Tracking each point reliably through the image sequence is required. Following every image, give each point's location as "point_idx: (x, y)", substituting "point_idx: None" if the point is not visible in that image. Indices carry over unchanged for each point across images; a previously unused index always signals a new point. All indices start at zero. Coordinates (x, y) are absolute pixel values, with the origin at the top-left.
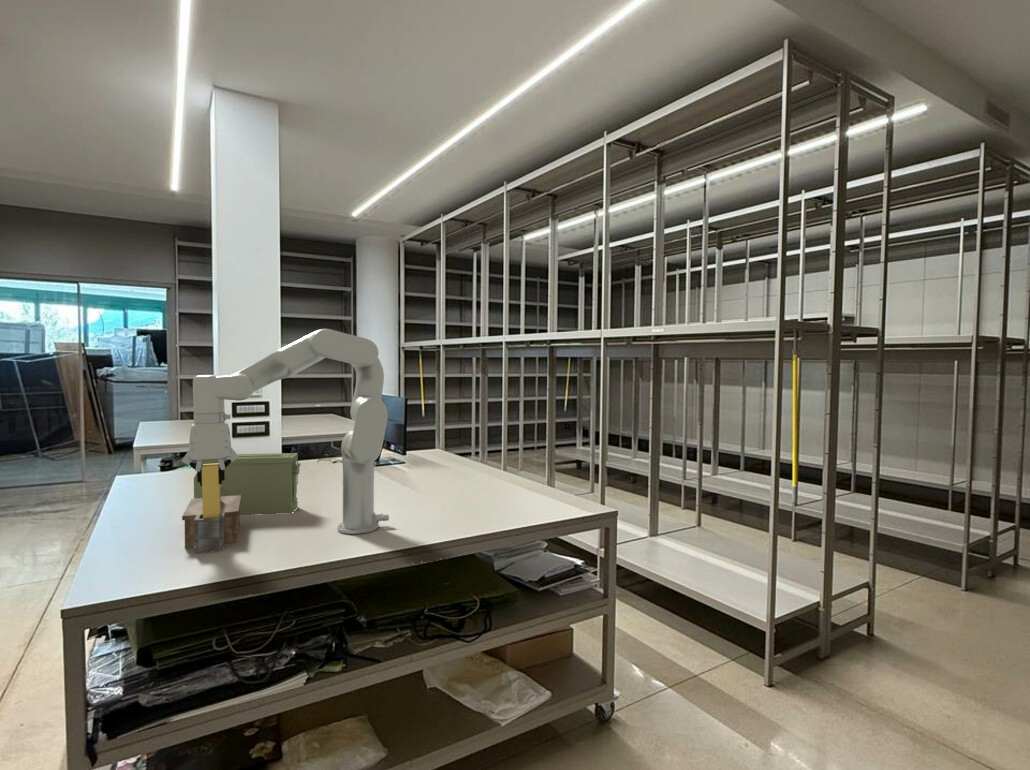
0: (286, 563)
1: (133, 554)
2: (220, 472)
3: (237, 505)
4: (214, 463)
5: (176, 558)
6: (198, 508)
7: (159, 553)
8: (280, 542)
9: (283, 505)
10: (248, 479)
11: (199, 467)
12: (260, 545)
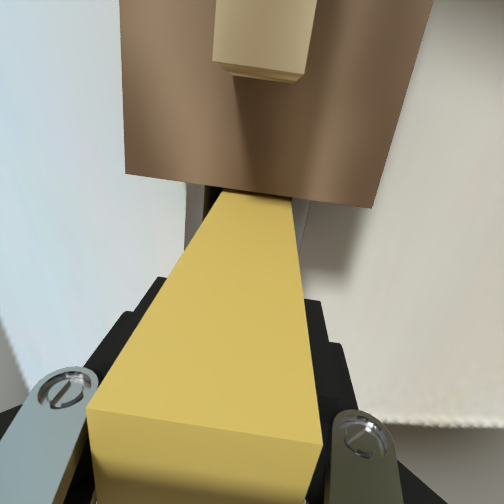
0: (397, 396)
1: (34, 134)
2: None
3: (403, 66)
4: (251, 435)
5: (165, 240)
6: (188, 24)
7: (110, 166)
8: (453, 244)
9: None
10: None
11: (79, 500)
12: (391, 242)
